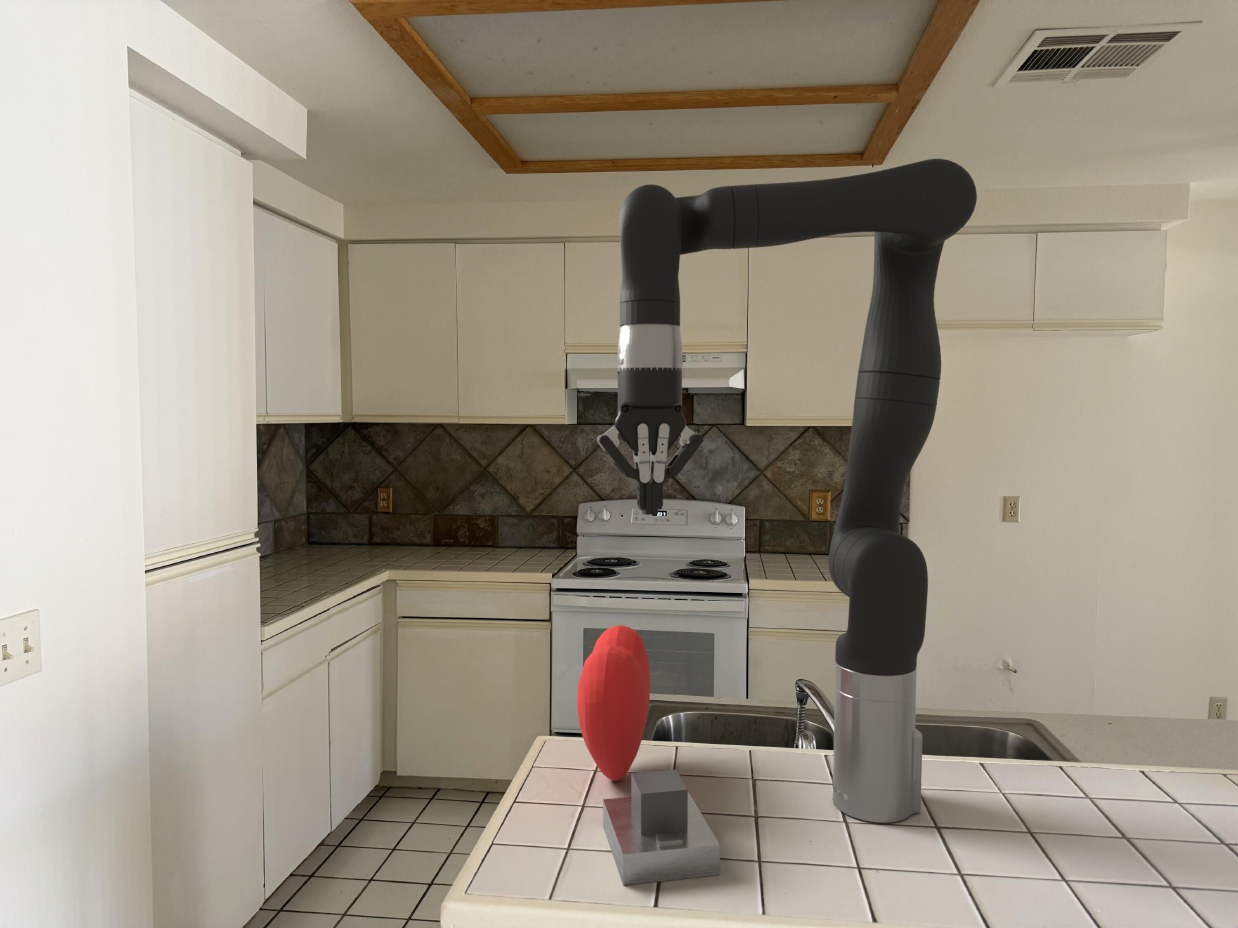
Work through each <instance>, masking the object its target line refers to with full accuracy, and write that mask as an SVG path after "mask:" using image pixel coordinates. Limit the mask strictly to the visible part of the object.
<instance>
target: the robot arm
mask: <svg viewBox="0 0 1238 928" xmlns="http://www.w3.org/2000/svg"><path fill="white" fill-rule="evenodd" d="M977 199H978V193H977V187H976V184H975V182H974V179H973V178H972V176H971V174H970V173H969V172H968V171H967V170H966V169H965V167H963V166H962V165H960V164H959V163H957V162H954V161H951V160H949V159H944V158H929V159H923V160H920V161H917V162H915V161H914V162H912V163H908V164H903V165H899V166H895V167H891V168H887V169H882V170H877V171H873V172H867V173H861V174H854V175H848V176H841V177H835V178H825V179H815V180H804V181H789V182H788V181H787V182H773V183H771V182H770V183H755V184H754V183H753V184H738V185H722V186H718V187H713V188H712V187H711V188H710V189H708V190H707V191H704V192H703V193H701V194H697V195H688V196H687V195H686V196H678V197H677V196H676V197H675V195H674V194H673V193H672V192H671V191H669V190H668V189H667V188H665V187H664V186H661V185H659V184H644V185H641V186H638V187H637V188H635V189H633V190H632V191H631V192H630V193H628V195H627V196H626V198H625V199H624V200H623V202H622V204H621V207H620V211H619V217H618V218H619V219H618V220H619V241H620V244H619V245H620V262H621V263H620V264H621V283H620V294H619V333H618V343H617V412H616V415H615V417H614V418H613V421H612V423H613V425H612V427H610V428H609V429H608V430H607V431H605V432H604V433H603V434H599V435H598V436H597V437H596V444H598V446H600V448H601V450H602V451H603V452H604V453H605V455H606V456H607V457H608V458H609V460H610V461H611V462H612V464H613V465H614V467H616V469H617V470H618V471H619V472H620V473H621V475H622V476H624V477H626V478H628V479H629V478H630V479H632V480H634V481H635V482H636V506H637V507H638V509H639V510H641V513H642V514H643V515H646V516H647V515H648V516H650V515H651V516H653V515H658V513H659V510H662V508H663V506H664V484H665V481H666V480H668V479H671V478H675V477H677V476H679V474H680V473H681V471H682V470H683V469H684V468H685V466H686V465H687V464H688V462H689V461H690V460H691V458H692V457H693V456H694V454H695V453H696V452H697V451H698V449H699V448H700V446H701V445H702V443H703V442H704V437H703V435H702V434H699V433H696V432H694V431H693V430H692V429H690V428H689V427H688V426H687V420H686V418H685V416H684V413H683V365H684V356H683V342H682V334H681V293H680V282H679V281H680V280H679V274H680V273H679V271H680V259H681V256H682V255H686V254H693V253H698V252H699V253H700V252H703V251H707V250H708V251H709V250H738V249H739V250H740V249H741V250H742V249H753V248H754V249H755V248H768V247H777V246H782V245H789V244H794V243H799V242H804V241H808V240H813V239H818V238H823V237H830V236H836V235H844V234H852V233H874V248H873V249H874V252H873V256H874V257H873V278H872V282H873V283H872V291H871V297H870V303H869V308H868V312H867V317H866V321H865V323H866V324H865V328H864V334H863V342H862V346H861V353H860V354H861V355H860V359H859V365H858V370H857V372H858V373H857V378H856V387H855V393H854V394H855V395H854V402H853V411H852V412H853V413H852V424H851V430H850V437H849V445H848V455H847V464H846V474H845V479H844V480H845V481H844V486H843V491H842V496H841V501H840V505H839V509H838V514H837V516H836V522H835V526H834V530H833V532H832V533H833V534H832V539H831V542H830V545H829V546H830V547H829V552H828V553H829V554H828V562H827V563H828V571H829V574H830V579H831V580H832V582H833V584H834V585H835V587H836V588H837V589H838V590H839V591H840V592H841V593H842V594H844V596H847V597H848V599H849V600H848V617H847V618H848V619H847V620H848V621H847V629H846V631H845V632H844V633H842V634H840V635H839V636H838V637H837V639H836V641H835V650H834V651H835V653H834V655H835V657H834V658H835V659H834V660H835V661H834V716H833V719H834V720H833V769H832V770H833V773H832V774H833V775H832V777H833V778H832V802H833V804H834V806H835V807H836V808H837V809H838V810H839V811H840V812H842V813H844V814H845V815H848V816H849V817H852V818H855V819H858V820H862V821H866V822H870V823H871V822H872V823H883V824H884V823H887V824H888V823H896V822H901V821H905V819H907V818H909V817H911V815H913V814H920V813H921V811H922V810H921V808H922V772H923V768H922V767H923V733H922V732H921V731H920V730H918V729H917V728H916V710H917V709H916V707H917V668H918V667H917V665H918V662H917V661H918V655H919V653H920V650H921V648H922V647H923V645H924V644H923V643H924V639H925V633H926V621H927V619H926V618H927V607H928V606H927V605H928V591H929V589H928V588H929V576H928V575H929V574H928V565H927V561H926V558H925V555H924V553H923V551H922V550H921V548H920V547H919V546H918V544H916V542H914V541H913V540H912V539H910V538H909V537H907V536H905V535H902V534H901V533H899V528H900V527H899V526H900V525H899V524H900V514H901V507H902V498H903V493H904V489H905V485H906V482H907V480H908V477H909V475H910V473H911V471H912V469H913V467H914V465H915V462H916V461H917V459H918V457H919V456H920V454H921V452H922V450H923V447H924V446H925V444H926V442H927V439H928V438H929V436H930V434H931V431H932V428H933V423H934V421H935V416H936V411H937V405H938V401H939V399H938V398H939V392H940V383H941V374H942V351H941V343H940V337H939V330H938V324H937V318H936V311H935V288H936V282H937V275H938V270H939V266H940V261H941V260H940V259H941V255H942V252H943V250H944V249H943V247H944V244H945V241H947V240H949V239H950V238H951V237H953V236H954V235H956V234H957V233H958V232H959V231H961V230H962V228H963V229H964V227H965V225H967V223H968V222H969V220H970V219H971V218H972V215H973V213H974V212H975V208H976V204H977ZM618 435H619V436H620V437H621V439H622V441H623V442H624V444H625V445H626V446H627V448H628V449H629V450H630V451H632V457H633V462H634V467H633V466H632V465H631V464H630V462H629V461H628V460H627V458H626V457H625V456H624V455H623V454H622V452H621V451H620V450H619V448H618V447H619V445H620V440H619V438H618V437H619V436H618ZM679 437H680V439H679V444H680V447H679V449H677V451H676V452H675V454H673V456H672V458H671V459H670V460H669V461H668V463H667V460H668V459H667V457H668V451H669V450H671V448H672V447H673V446H674V444H675V443H676V441H677V440H678V438H679ZM666 463H667V464H666Z"/></svg>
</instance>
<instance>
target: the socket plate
mask: <svg viewBox="0 0 1238 928" xmlns="http://www.w3.org/2000/svg"><path fill="white" fill-rule="evenodd" d="M697 805H698V804H696V802H695V800H694V798H693V797H692V795H691V794H690V792H689V791H688V830H685V831H675V832H665V833H655V834H644V835H641V834H640V831H639V829H638V827H637V824H636V822H635V819H634V817H633V815H632V812H631V796H624V797H612V798H603V799H602V828H603V831H604V833H605V836H606V839H607V842H608V845H609V847H610V851H611V853H612V854H611V855H612V856H613V858H614V859H613V860H614V862H615V865H616V868H617V871H618V874H619V877H620V881H621V883H622V885H623V886H627V885H628V886H630V885H638V884H639V885H640V884H648V883H656V882H657V883H658V882H667V881H675V880H676V881H677V880H685V879H694V878H704V877H713V876H720V873H721V872H720V871H721V870H720V866H721V865H720V864H721V863H720V860H721V859H720V857H721V856H720V851H721V850H720V849H721V847H720V846H721V845H720V843H719V841H718V839H717V838H716V835H715V834H714V833H713V831H712V829H711V828H710V826H709V824H708V822H707V821H706V819H705V817H704V815H703V814H702V812H701V810H700V809H699V807H698V806H697Z"/></svg>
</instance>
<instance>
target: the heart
mask: <svg viewBox="0 0 1238 928" xmlns="http://www.w3.org/2000/svg"><path fill="white" fill-rule="evenodd" d="M650 674H651V673H650V662H649V657H648V654H647V650H646V647H645V644H644V640H643V638H642V637H641V636H640V634H639V633H638V632H637V631H636V630H635V629H633V628H631V627H630V626H626V625H624V624H623V625H622V624H619V625H613V626H611V627H609V628H608V629H606V630H605V631H603V632H602V633H601V635H600V636H599V637H598V638H597V640H596V641H595V644H594V647H593V649H592V652H591V653H590V654H589V656H587V658H586V660H584V663H583V666H582V671H581V673H580V676H579V680H578V683H577V684H578V685H577V696H576V697H577V698H576V699H577V701H576V705H577V706H576V707H577V709H576V710H577V717H578V724H579V728H580V733H581V736H582V739H583V741H584V744H585V746H586V748H587V750H588V752H589V755H591V758H592V760H593V761H594V763H595V765H596V767H597V768H598V770H599V771H600V772H601V773H602V775H603V776H605V777H606V778H607V779H608V780H609V781H613V782H617V781H620V780H621V779H623V778H624V777H625V776H626V775H627V773H628V772H629V771H630V769H631V767H632V765H633V763H634V761H635V760H636V758H637V754H638V752H639V750H640V746H641V743H642V740H643V737H644V732H645V729H646V724H647V720H648V715H649V708H650V707H649V705H650V700H651V699H650V696H651V675H650Z"/></svg>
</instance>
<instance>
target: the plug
mask: <svg viewBox="0 0 1238 928" xmlns="http://www.w3.org/2000/svg"><path fill="white" fill-rule="evenodd" d="M630 776H631V777H630V779H631V780H630V781H631V784H630V786H631V788H630V789H631V796H630V797H631V812H632V815H633V817H634V819H635V822H636V824H637V827H638V829H639V831H640V834H641V835H644V834H655V833H665V832H675V831H685V830H688V792H689V790H688V787H687V785H685V782H684V781H683V779H682V777H681V776H680V774H679V773H678V771H677V769H666V770H656V771H655V770H654V771H641V772H640V771H639V772H632V773H631V775H630Z"/></svg>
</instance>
